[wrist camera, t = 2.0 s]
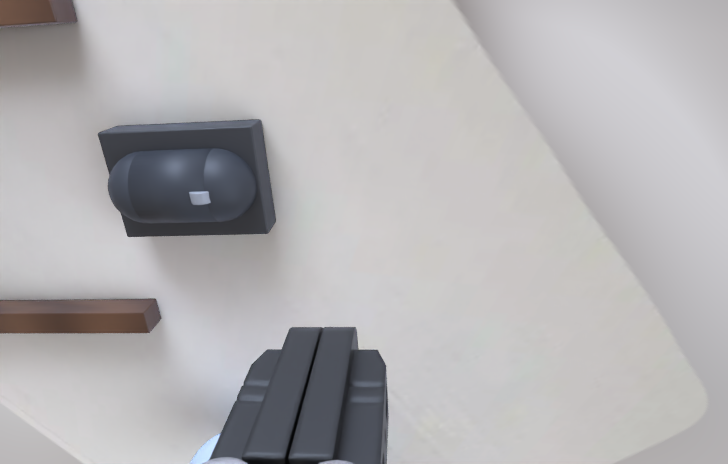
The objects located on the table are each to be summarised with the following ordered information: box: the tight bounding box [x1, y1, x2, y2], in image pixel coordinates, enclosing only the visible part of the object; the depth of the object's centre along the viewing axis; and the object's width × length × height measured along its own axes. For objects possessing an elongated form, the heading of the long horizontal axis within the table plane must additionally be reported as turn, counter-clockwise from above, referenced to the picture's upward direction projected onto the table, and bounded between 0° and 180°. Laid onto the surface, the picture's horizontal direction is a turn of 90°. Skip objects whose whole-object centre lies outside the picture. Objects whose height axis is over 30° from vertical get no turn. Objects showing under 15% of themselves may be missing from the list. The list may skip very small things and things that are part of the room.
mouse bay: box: [0, 0, 161, 333], centre depth 26 cm, size 14×19×2 cm
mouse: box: [98, 120, 276, 237], centre depth 24 cm, size 8×6×4 cm
